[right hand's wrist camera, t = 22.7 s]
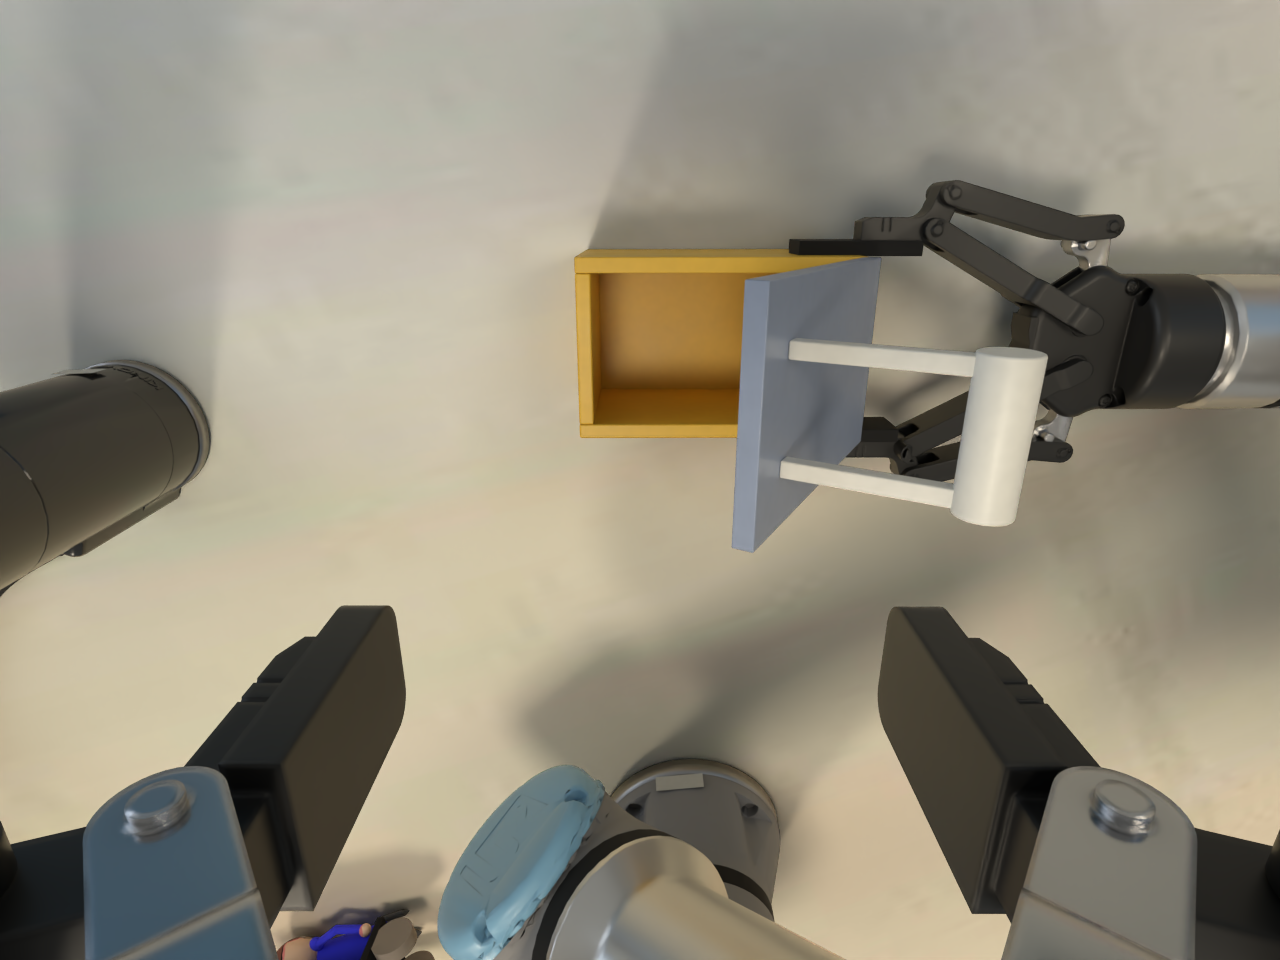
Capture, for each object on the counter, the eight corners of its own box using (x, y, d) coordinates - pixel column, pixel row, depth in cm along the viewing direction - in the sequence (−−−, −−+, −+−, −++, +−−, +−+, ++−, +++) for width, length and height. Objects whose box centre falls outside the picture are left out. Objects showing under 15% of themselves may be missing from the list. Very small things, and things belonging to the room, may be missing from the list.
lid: (731, 548, 26) (997, 611, 22) (744, 279, 23) (1061, 293, 19) (844, 439, 39) (1026, 465, 35) (863, 257, 36) (1067, 262, 31)
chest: (590, 397, 48) (580, 438, 39) (586, 249, 45) (574, 257, 36) (810, 396, 48) (850, 437, 39) (823, 248, 45) (869, 256, 36)
